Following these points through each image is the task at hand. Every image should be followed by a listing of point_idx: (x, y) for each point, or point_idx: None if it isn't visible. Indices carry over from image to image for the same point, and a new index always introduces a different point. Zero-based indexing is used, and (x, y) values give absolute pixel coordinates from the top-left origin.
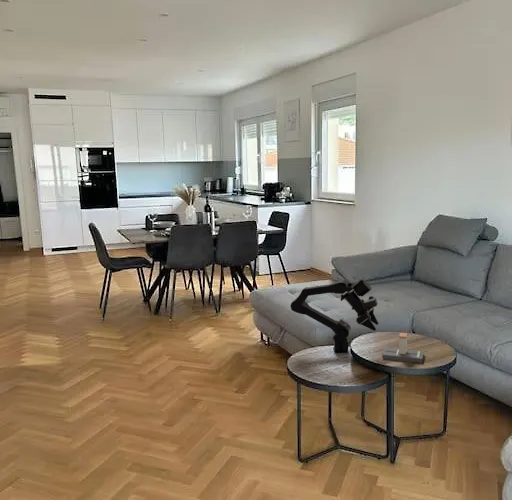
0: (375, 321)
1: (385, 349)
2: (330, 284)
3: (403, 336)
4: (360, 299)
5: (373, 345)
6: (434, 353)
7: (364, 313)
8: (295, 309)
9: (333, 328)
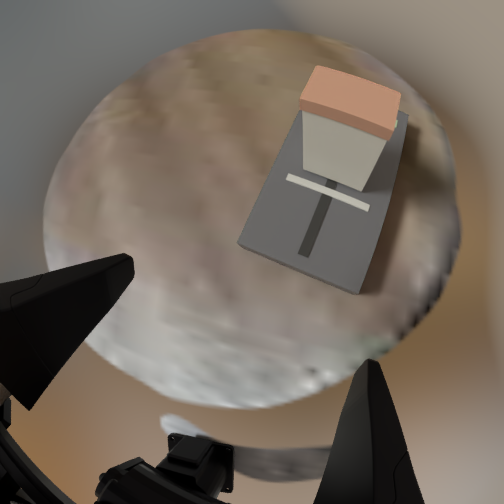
0: (101, 289)
1: (274, 250)
2: None
3: (395, 105)
4: None
5: (147, 285)
6: (291, 62)
7: None
8: None
9: None
